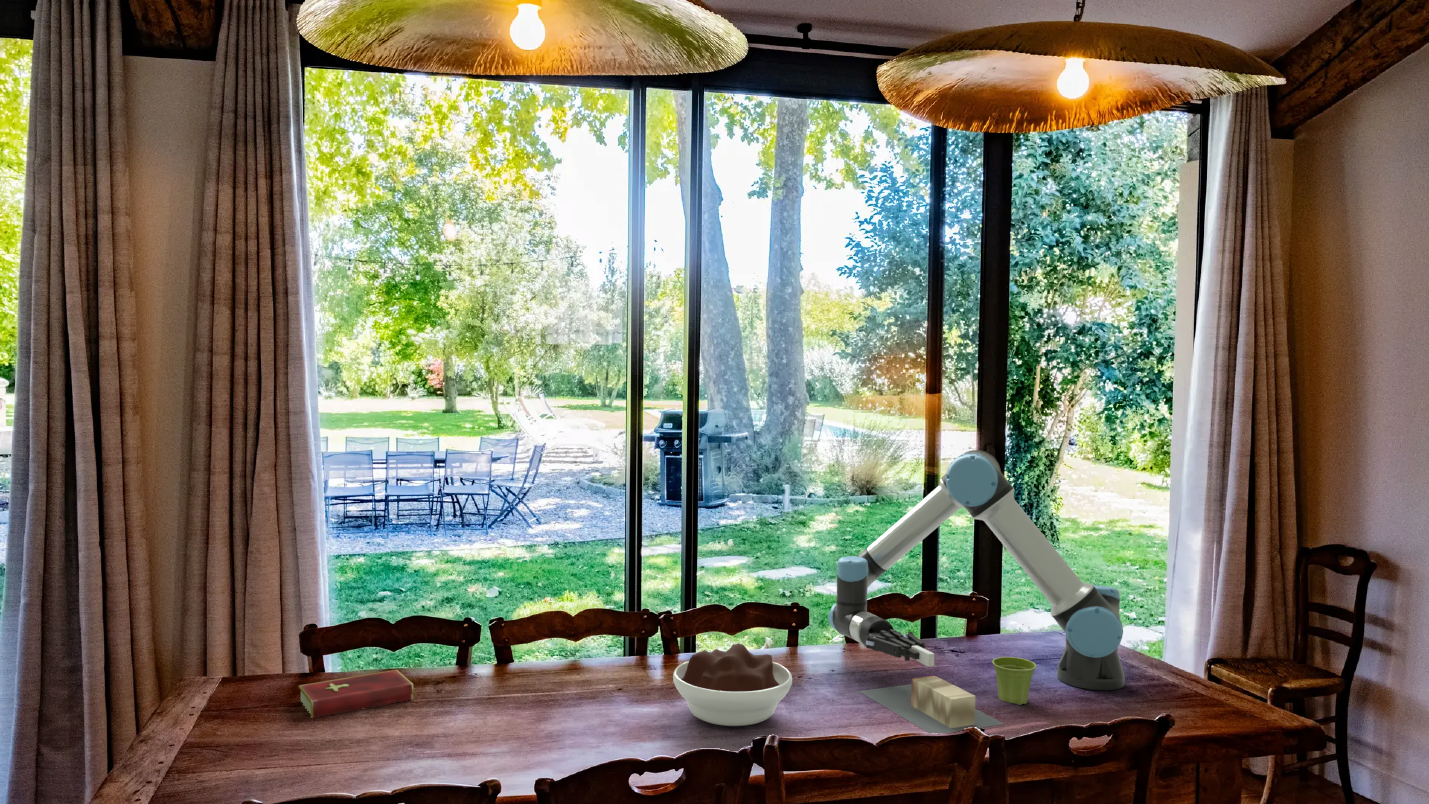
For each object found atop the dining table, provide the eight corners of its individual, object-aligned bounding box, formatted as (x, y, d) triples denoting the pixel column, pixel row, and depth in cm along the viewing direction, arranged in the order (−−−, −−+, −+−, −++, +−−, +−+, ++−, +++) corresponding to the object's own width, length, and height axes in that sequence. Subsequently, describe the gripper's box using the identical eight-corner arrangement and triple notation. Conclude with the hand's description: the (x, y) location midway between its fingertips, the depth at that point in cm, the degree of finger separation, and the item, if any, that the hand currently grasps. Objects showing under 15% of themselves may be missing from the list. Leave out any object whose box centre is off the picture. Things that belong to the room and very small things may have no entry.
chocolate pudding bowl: (796, 741, 193) (798, 666, 192) (669, 739, 192) (671, 663, 192) (786, 698, 218) (787, 631, 217) (674, 696, 217) (675, 629, 217)
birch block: (911, 678, 212) (951, 699, 200) (934, 675, 215) (975, 695, 202) (911, 705, 213) (950, 728, 200) (933, 702, 215) (974, 724, 202)
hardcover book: (413, 702, 211) (413, 683, 211) (311, 721, 199) (311, 700, 199) (396, 686, 221) (397, 668, 221) (298, 703, 209) (298, 684, 209)
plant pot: (1037, 710, 213) (1038, 671, 213) (992, 706, 215) (994, 667, 215) (1032, 696, 222) (1033, 658, 222) (989, 692, 224) (990, 655, 224)
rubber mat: (858, 693, 222) (858, 691, 221) (924, 684, 229) (924, 682, 229) (932, 738, 196) (933, 735, 196) (1004, 726, 203) (1004, 723, 203)
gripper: (895, 644, 234) (955, 674, 213) (848, 649, 229) (905, 680, 208) (896, 613, 234) (956, 640, 212) (848, 618, 229) (906, 645, 207)
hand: (931, 660), depth 210 cm, fingers closed
